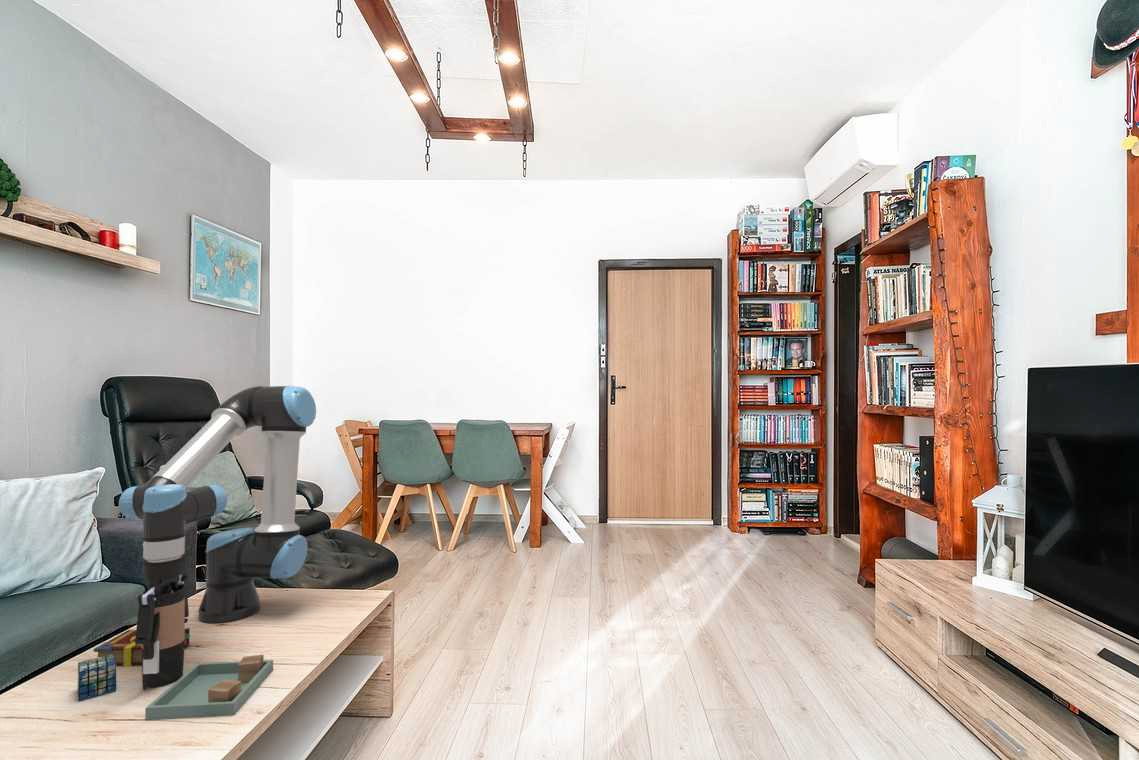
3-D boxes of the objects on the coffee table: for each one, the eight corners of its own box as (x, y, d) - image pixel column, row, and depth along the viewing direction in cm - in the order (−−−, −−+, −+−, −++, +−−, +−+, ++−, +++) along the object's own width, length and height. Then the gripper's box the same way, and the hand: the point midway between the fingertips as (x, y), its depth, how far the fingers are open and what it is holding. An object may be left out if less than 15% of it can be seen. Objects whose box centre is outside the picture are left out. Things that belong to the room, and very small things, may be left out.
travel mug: (162, 693, 120) (163, 597, 120) (131, 690, 121) (132, 594, 122) (192, 676, 127) (193, 585, 128) (163, 672, 129) (164, 583, 129)
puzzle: (116, 691, 121) (116, 663, 121) (78, 702, 117) (78, 672, 117) (113, 680, 125) (114, 653, 125) (77, 690, 121) (78, 662, 122)
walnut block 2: (243, 675, 126) (243, 656, 126) (263, 672, 127) (263, 654, 127) (238, 684, 122) (238, 665, 122) (258, 681, 123) (258, 662, 123)
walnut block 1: (223, 699, 116) (223, 679, 116) (241, 701, 115) (241, 681, 115) (208, 710, 112) (208, 689, 112) (226, 712, 111) (226, 691, 111)
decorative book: (128, 646, 143) (128, 626, 143) (195, 645, 144) (195, 624, 144) (92, 668, 131) (93, 646, 131) (166, 666, 132) (166, 644, 132)
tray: (197, 676, 127) (197, 663, 127) (273, 673, 128) (273, 659, 128) (145, 723, 109) (145, 707, 109) (233, 719, 110) (234, 703, 111)
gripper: (173, 545, 135) (172, 643, 134) (112, 573, 114) (111, 688, 114) (207, 544, 135) (206, 642, 135) (153, 571, 115) (151, 686, 115)
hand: (163, 663), depth 124 cm, fingers closed on travel mug, 8 cm apart
